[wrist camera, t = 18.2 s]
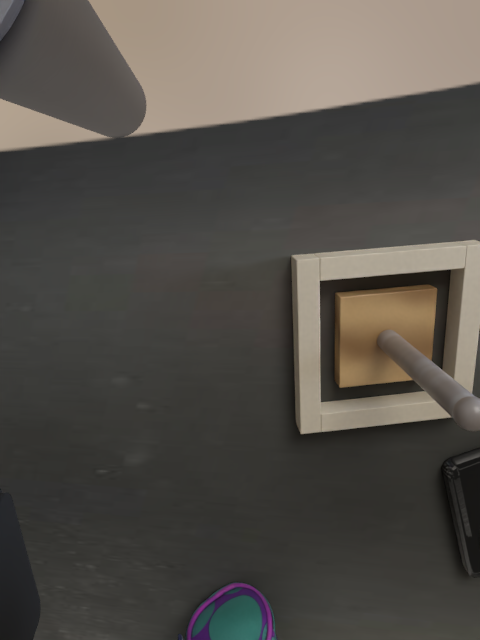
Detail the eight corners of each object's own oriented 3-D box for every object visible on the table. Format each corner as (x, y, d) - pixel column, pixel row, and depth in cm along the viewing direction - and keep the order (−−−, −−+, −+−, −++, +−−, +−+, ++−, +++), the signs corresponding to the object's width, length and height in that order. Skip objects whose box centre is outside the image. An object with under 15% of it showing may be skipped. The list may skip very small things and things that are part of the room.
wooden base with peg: (334, 292, 38) (416, 364, 24) (428, 284, 38) (560, 349, 25) (334, 380, 40) (408, 490, 27) (422, 371, 41) (538, 474, 27)
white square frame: (290, 255, 36) (296, 260, 34) (474, 239, 37) (489, 243, 36) (295, 422, 41) (300, 434, 39) (457, 404, 42) (469, 415, 40)
